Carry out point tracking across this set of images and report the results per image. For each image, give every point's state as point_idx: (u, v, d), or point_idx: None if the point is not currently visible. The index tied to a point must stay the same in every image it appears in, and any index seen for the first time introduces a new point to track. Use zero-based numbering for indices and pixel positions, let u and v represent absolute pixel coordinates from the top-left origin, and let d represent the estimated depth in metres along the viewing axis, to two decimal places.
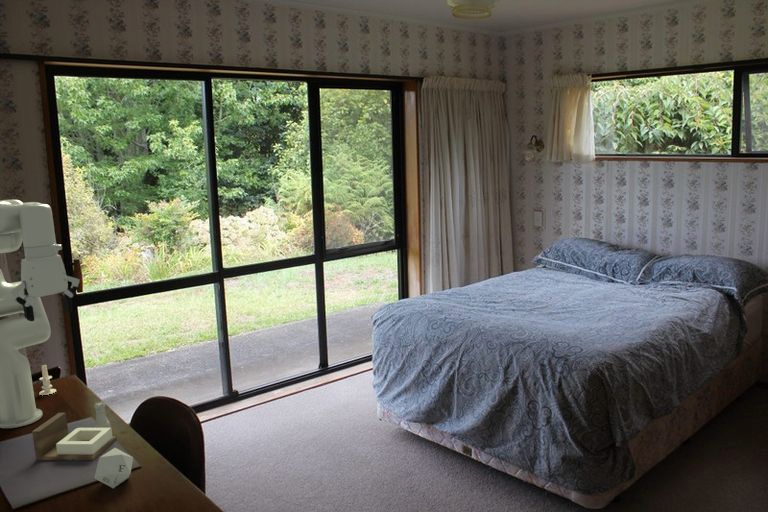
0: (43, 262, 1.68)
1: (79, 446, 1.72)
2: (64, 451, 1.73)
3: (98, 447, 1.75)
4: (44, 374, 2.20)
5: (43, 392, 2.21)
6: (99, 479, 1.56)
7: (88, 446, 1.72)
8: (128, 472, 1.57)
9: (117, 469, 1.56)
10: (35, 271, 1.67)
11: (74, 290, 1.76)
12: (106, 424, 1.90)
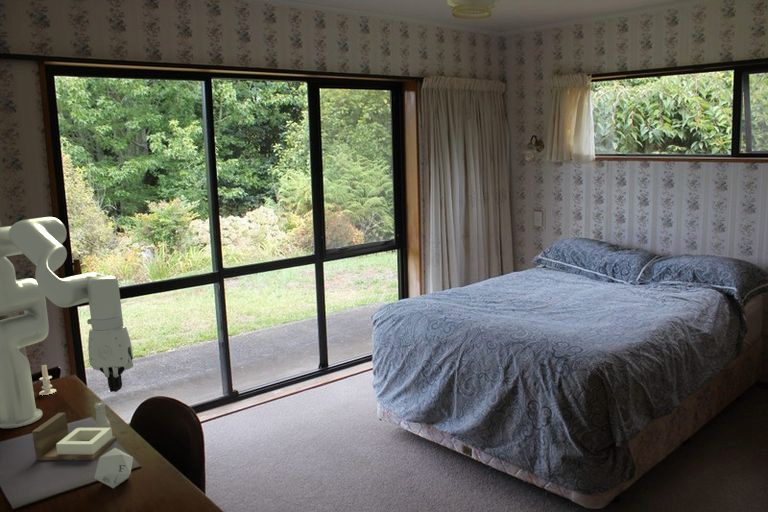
0: None
1: (79, 446, 1.72)
2: (64, 451, 1.73)
3: (98, 447, 1.75)
4: (44, 374, 2.20)
5: (43, 392, 2.21)
6: (99, 479, 1.56)
7: (88, 446, 1.72)
8: (128, 472, 1.57)
9: (117, 469, 1.56)
10: None
11: None
12: (106, 424, 1.90)
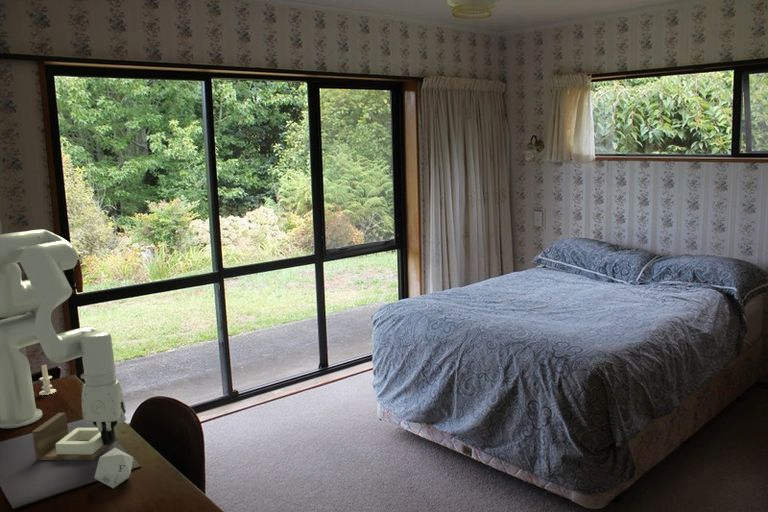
0: None
1: (78, 446, 1.72)
2: (63, 451, 1.73)
3: (97, 447, 1.75)
4: (44, 374, 2.20)
5: (43, 392, 2.21)
6: (99, 479, 1.56)
7: (87, 446, 1.72)
8: (128, 472, 1.57)
9: (117, 469, 1.56)
10: None
11: None
12: None
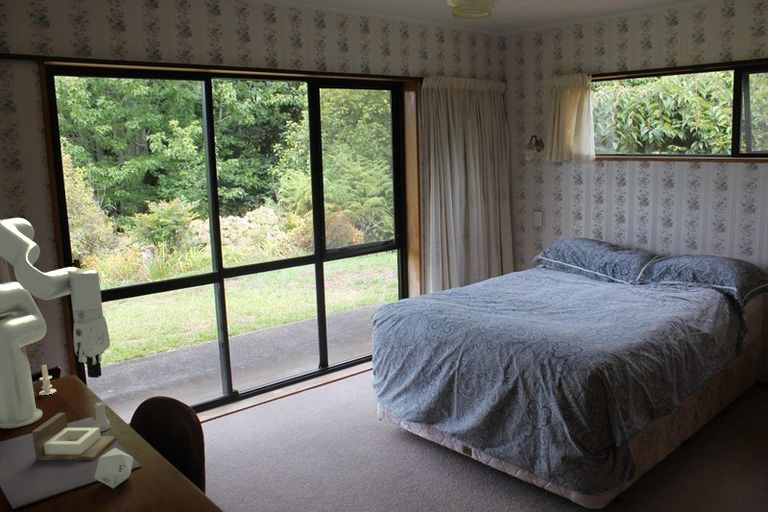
0: None
1: (66, 446, 1.73)
2: (51, 451, 1.74)
3: (86, 447, 1.75)
4: (44, 374, 2.20)
5: (43, 392, 2.21)
6: (99, 479, 1.56)
7: (75, 446, 1.73)
8: (128, 472, 1.57)
9: (117, 469, 1.56)
10: None
11: None
12: (106, 424, 1.90)
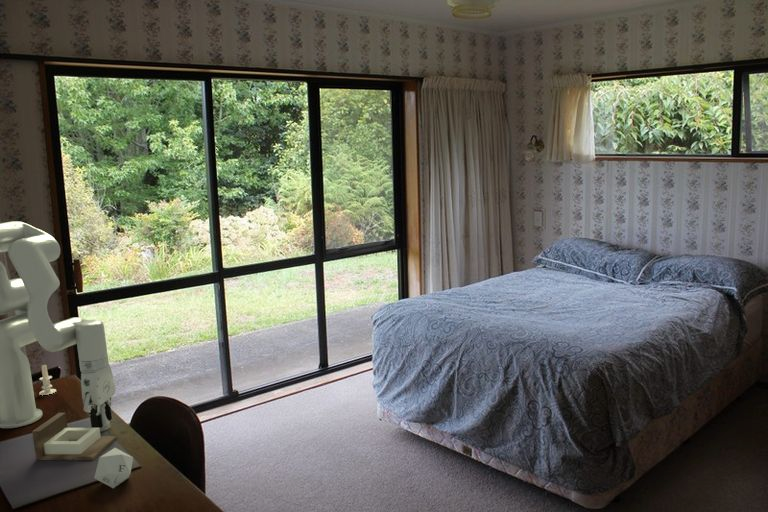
0: None
1: (66, 446, 1.73)
2: (51, 451, 1.74)
3: (86, 447, 1.75)
4: (44, 374, 2.20)
5: (43, 392, 2.21)
6: (99, 479, 1.56)
7: (75, 446, 1.73)
8: (128, 472, 1.57)
9: (117, 469, 1.56)
10: None
11: None
12: (106, 424, 1.90)
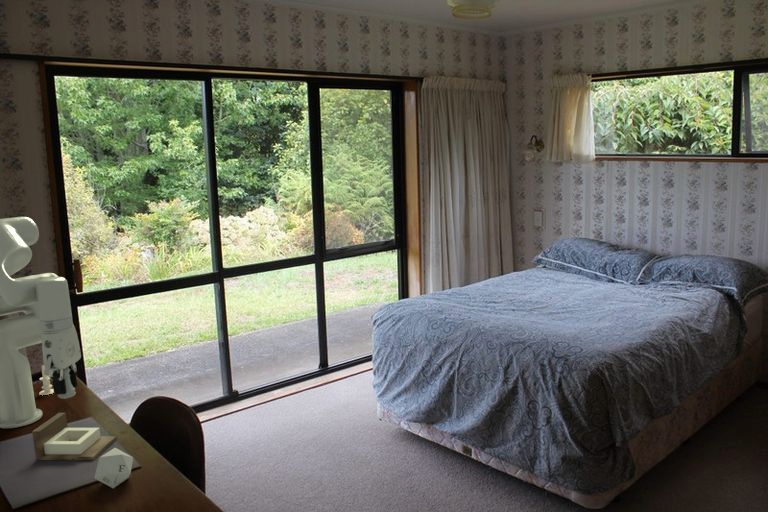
0: None
1: (66, 446, 1.73)
2: (51, 451, 1.74)
3: (86, 447, 1.75)
4: (44, 374, 2.20)
5: (43, 392, 2.21)
6: (99, 479, 1.56)
7: (75, 446, 1.73)
8: (128, 472, 1.57)
9: (117, 469, 1.56)
10: None
11: None
12: (71, 390, 1.75)
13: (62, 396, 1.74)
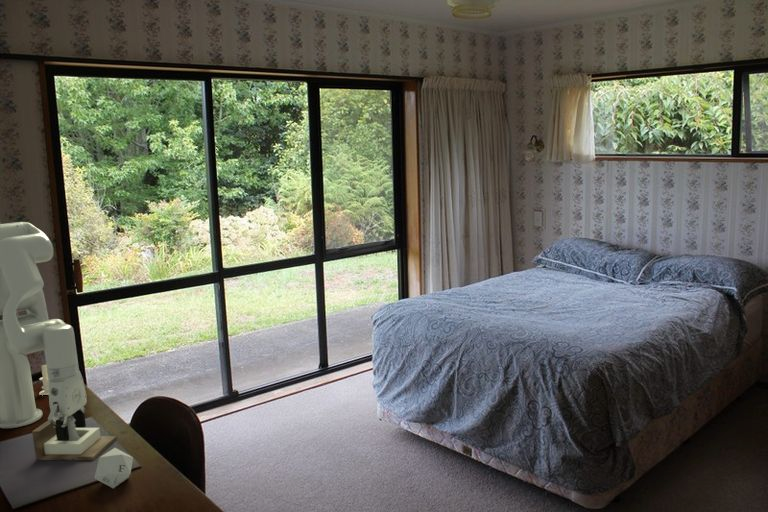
0: None
1: (66, 446, 1.73)
2: (51, 451, 1.74)
3: (86, 447, 1.75)
4: (44, 374, 2.20)
5: (43, 392, 2.21)
6: (99, 479, 1.56)
7: (75, 446, 1.73)
8: (128, 472, 1.57)
9: (117, 469, 1.56)
10: None
11: None
12: (77, 440, 1.77)
13: None
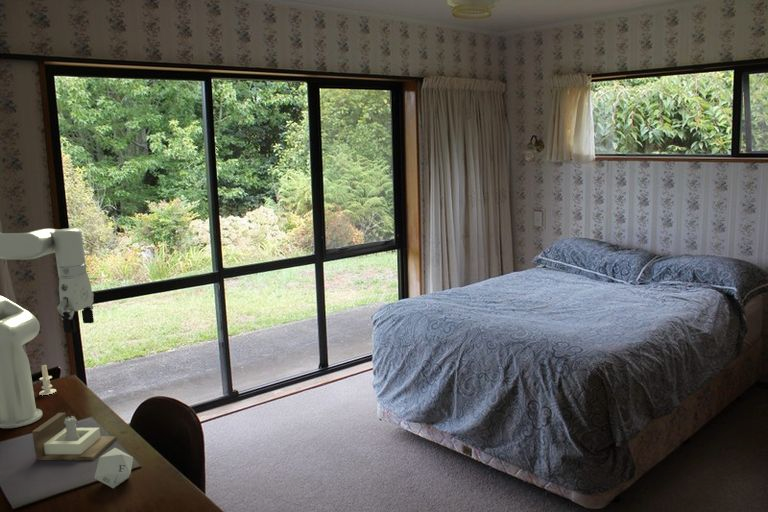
0: None
1: (66, 446, 1.73)
2: (51, 451, 1.74)
3: (86, 447, 1.75)
4: (44, 374, 2.20)
5: (43, 392, 2.21)
6: (99, 479, 1.56)
7: (75, 446, 1.73)
8: (128, 472, 1.57)
9: (117, 469, 1.56)
10: None
11: None
12: None
13: None
